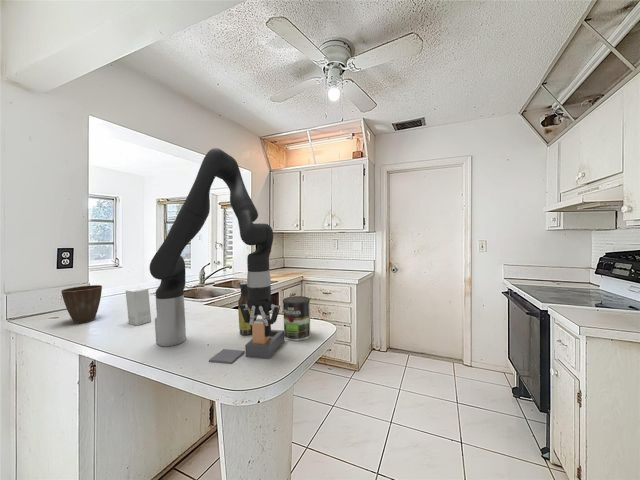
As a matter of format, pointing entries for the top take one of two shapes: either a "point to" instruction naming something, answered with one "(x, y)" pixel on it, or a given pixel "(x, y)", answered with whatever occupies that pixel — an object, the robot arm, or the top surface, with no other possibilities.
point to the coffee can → (296, 318)
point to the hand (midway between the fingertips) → (260, 335)
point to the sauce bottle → (242, 300)
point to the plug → (259, 332)
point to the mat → (227, 356)
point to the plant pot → (82, 302)
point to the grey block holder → (265, 346)
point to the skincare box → (138, 306)
